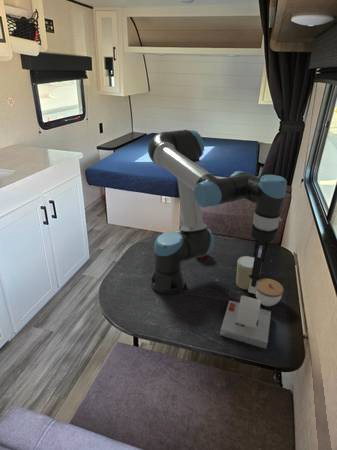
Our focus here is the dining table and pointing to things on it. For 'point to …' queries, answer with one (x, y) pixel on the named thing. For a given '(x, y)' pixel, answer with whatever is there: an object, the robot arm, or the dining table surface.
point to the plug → (248, 311)
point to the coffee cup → (244, 271)
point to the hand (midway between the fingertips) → (253, 284)
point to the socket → (246, 327)
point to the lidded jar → (269, 292)
